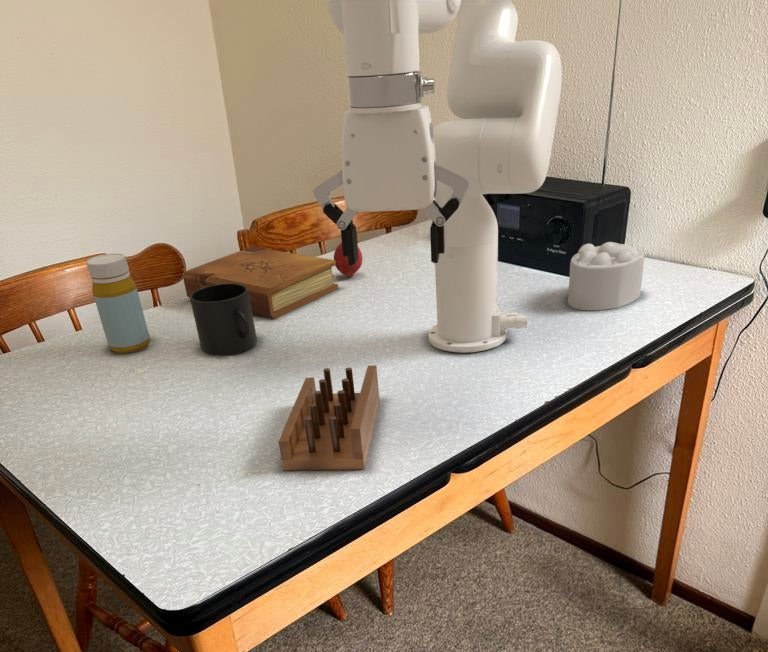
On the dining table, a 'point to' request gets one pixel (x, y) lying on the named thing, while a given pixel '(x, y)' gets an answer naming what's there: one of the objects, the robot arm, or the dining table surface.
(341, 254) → the onion
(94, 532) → the dining table surface
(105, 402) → the dining table surface
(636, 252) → the lumpy-topped squat cylinder
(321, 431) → the rack
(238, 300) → the mug
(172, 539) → the dining table surface
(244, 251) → the diary
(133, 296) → the bottle
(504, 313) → the robot arm
